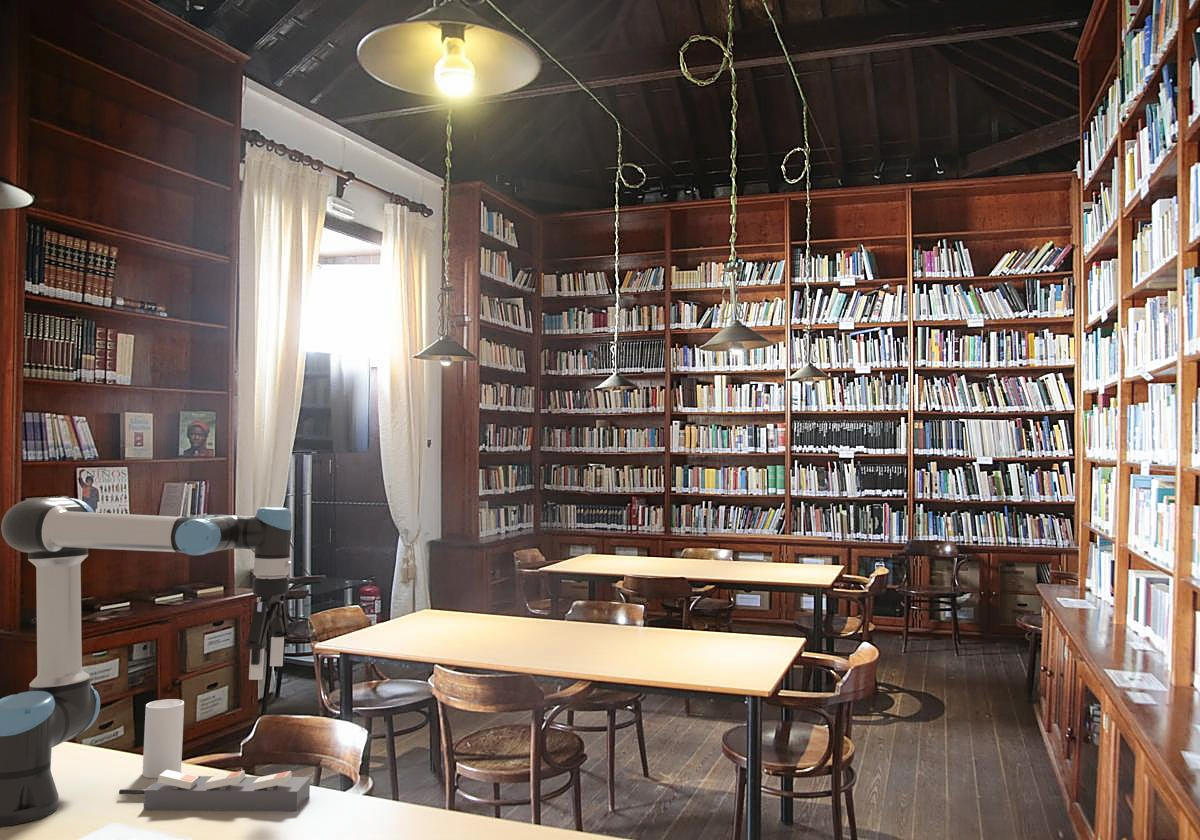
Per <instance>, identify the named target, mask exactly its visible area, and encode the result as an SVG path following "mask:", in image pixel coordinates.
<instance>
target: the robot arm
mask: <svg viewBox="0 0 1200 840" xmlns="http://www.w3.org/2000/svg"><path fill="white" fill-rule="evenodd" d="M0 526H1V528H0V530H1V534H2V535H1V536H2V537H3V539H4V541H5V542H6V544H8V546H10V548H13V549H14V550H17V551H18V552H22V553H27V558H28V559H27V560H28V562H30V563H31V564H32V565H33V566H35V568H36V569H35V570H36V585H35V586H36V657H37V658H36V659H37V660H36V662H37V668H36V671H37V672H36V673H37V675H36V676H35V678H33V679H32V681H31V682H30V683H29V691H24V692H23V691H22V692H19V693H17V694H10V695H7V696H4V697H2V698H0V827H5V826H6V827H8V826H14V825H20V824H24V823H28V822H33V821H36V820H40V819H43V818H44V817H47V816H49V815H51V814H53V813H54V812H55V811H56V810H57V809H58V808H59V799H60V798H59V792H58V790H57V786H56V783H55V779H54V777H53V774H52V771H51V770H52V769H51V768H52V767H51V766H52V763H51V762H52V749H53V748H54V747H57V746H58V745H60V744H62V743H64V742H66V741H70V740H72V739H74V738H77V737H78V736H80V735H81V734H83V733H84V732H85V731H86V730H88V729H89V728H91V726H92V725H93V724H94V723H95V722H96V720H97V718H98V717H99V713H100V709H101V698H100V694H99V693H98V691H97V690H96V689H94V686H93V685H92V684H91V682H90V681H91V678H90V677H91V676H90V674H88V673H87V672H86V671H85V670H83V659H82V658H83V656H82V655H83V653H82V652H83V649H82V648H83V646H82V644H83V643H82V581H81V579H82V578H81V577H82V573H81V571H82V570H81V569H82V568H81V564H82V562H83V561H85V559H87V558H88V556H89V549H98V550H120V551H121V550H123V551H124V550H125V551H142V552H143V551H144V552H168V553H170V552H171V553H182V554H187V555H189V556H204V555H207V554H210V553H215V552H220V551H221V552H222V551H225V550H254V556H253V576H255V577H254V578H253V580H252V594H253V595H255V596H260V600H259V601H255V602H254V603H253V613H252V618H251V623H250V627H249V633H248V636H247V642H246V645H245V649H246V650H249V651H250V652H249V666H248V667H249V670H248V671H249V672H248V680H253V681H254V680H255V681H256V680H257V681H262V680H263V679H264V665H265V664H264V660H265V648H263V646H264V645H265V644H264V643H265V640H266V636H267V633H268V631H269V627H270V628H271V629H270V630H271V632H272V637H271V638H270V653H269V654H270V657H269V667H283V666H284V649H285V647H284V646H285V637H289V631H288V630H289V628H288V620H287V611H286V595H287V594H288V592H289V585H290V583H289V582H290V579H289V578H288V575H289V574H290V567H292V565H293V563H292V561H290V560H291V559H290V558H291V539H292V530H293V529H292V528H293V526H292V511H291V509H289V508H286V507H267V506H265V507H264V506H263V507H258V509H257V510H256V514H255V515H232V514H231V515H230V514H223V513H222V514H221V513H220V514H208V515H205V516H204V517H198V516H197V517H196V516H195V517H194V516H171V515H152V514H151V515H149V514H132V513H131V514H129V513H111V512H108V513H107V512H95V511H94V510H93V508H92V507H91V506H90V505H89V504H87V503H86V502H85V501H83V500H81V499H78V498H74V497H73V498H72V497H71V498H70V497H62V496H60V497H51V498H50V497H49V498H30V499H26V500H23V501H20V502H18V503H16V504H14V505H12V506H11V507H10V508H8V510H7V511H6V513H5V514H4V516H3V518H2V519H1V524H0Z"/></svg>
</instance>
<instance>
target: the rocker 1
mask: <svg viewBox="0 0 1200 840" xmlns="http://www.w3.org/2000/svg"><path fill="white" fill-rule="evenodd" d="M198 776H199V775H193V774H187V773H185V772H181V771H180V772H176V771H171V770H166V771H164V772H163V773H162V774H160V775H159V778H157V781H158V782H159V783H163V784H167V785H172V786H176V787H181V788H185V789H191V788H192V787H194V786H195V785H196V784H197V782H198V778H199V777H198Z"/></svg>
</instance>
